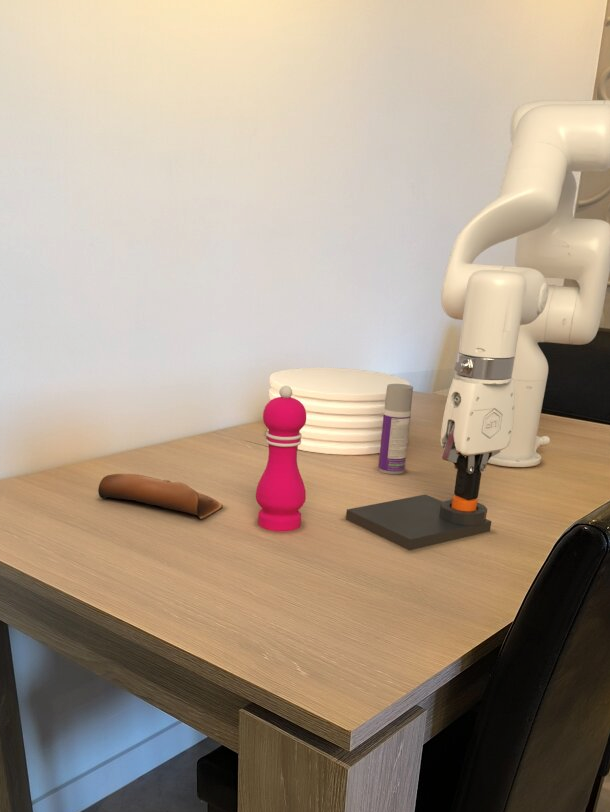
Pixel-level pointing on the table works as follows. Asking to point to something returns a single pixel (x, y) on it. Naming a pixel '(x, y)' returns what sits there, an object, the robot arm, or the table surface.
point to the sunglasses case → (158, 493)
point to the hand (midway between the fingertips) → (465, 496)
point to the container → (395, 428)
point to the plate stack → (338, 407)
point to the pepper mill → (282, 465)
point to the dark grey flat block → (419, 521)
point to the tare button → (464, 504)
